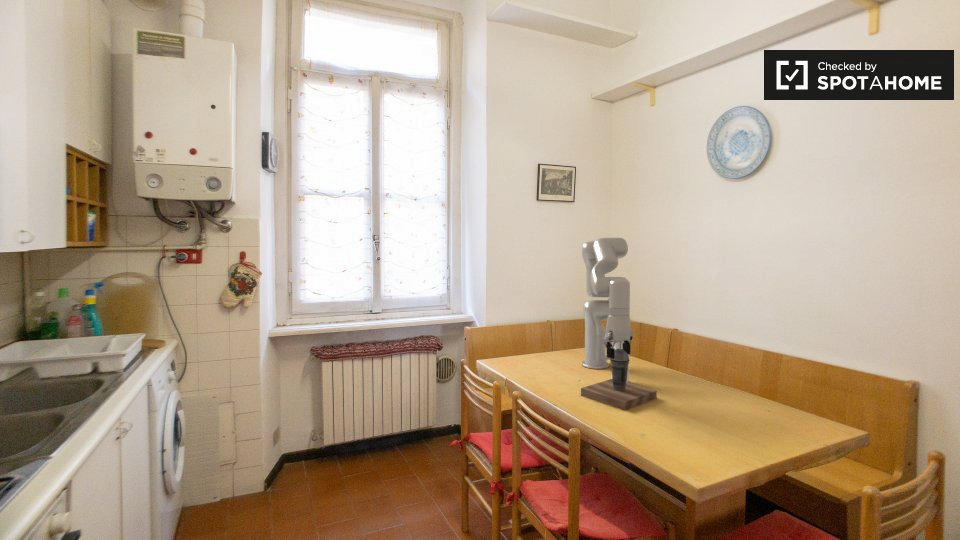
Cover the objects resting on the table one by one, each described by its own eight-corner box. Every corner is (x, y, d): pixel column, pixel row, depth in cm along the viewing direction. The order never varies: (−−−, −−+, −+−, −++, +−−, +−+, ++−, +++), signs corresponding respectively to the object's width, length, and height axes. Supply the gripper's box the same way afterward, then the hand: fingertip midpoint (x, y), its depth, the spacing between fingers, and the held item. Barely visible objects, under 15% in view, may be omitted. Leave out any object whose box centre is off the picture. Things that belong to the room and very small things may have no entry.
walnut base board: (613, 385, 192) (613, 378, 192) (656, 398, 176) (656, 390, 176) (581, 395, 180) (581, 388, 180) (624, 410, 164) (624, 402, 164)
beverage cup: (626, 385, 182) (627, 335, 181) (631, 392, 175) (632, 339, 173) (607, 385, 183) (608, 335, 181) (611, 391, 175) (612, 339, 174)
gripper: (624, 308, 184) (624, 350, 186) (596, 313, 174) (596, 357, 175) (641, 310, 178) (640, 354, 180) (613, 315, 168) (612, 362, 169)
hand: (618, 355), depth 178 cm, fingers open, 9 cm apart
